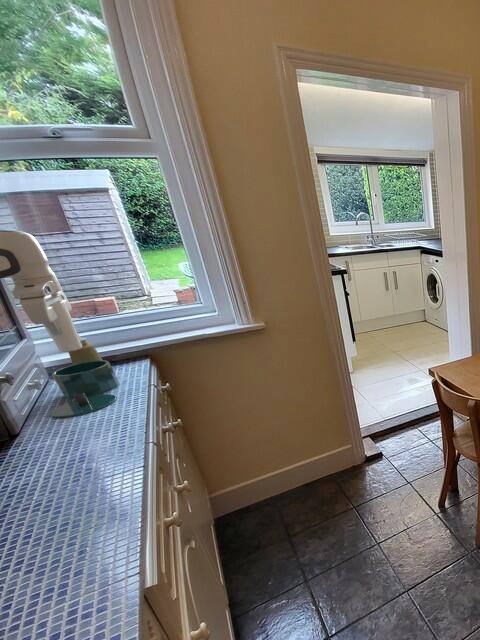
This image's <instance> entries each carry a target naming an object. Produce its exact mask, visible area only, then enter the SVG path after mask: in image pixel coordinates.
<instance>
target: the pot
mask: <svg viewBox="0 0 480 640" xmlns="http://www.w3.org/2000/svg"><path fill="white" fill-rule="evenodd" d="M51 375H52V377H53V379H54V381H55V383H56V385H57V387H58V388H59V390H60V392H61V394H62V395H63V397H64V399H67V400H75V398H74V396H73V395H75V394H78V393H85V395H86V397H90V396H96V395H102V394H104V393H106V392H109V391H112V390H113V389H115V388H118V386H119V385H120V382H119V379H118V377H117V375H116V373H115V371H114V369H113V367H112V365H111V363H110V361H108V360H105V359H104V360H103V359H102V360H99V361H90V362H83V363H79V364H75V365H73V364H71V365H68V366H64V367H61V368H59V369H56V370H54V371H53V372H52V373H51Z"/></svg>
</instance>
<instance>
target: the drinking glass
mask: <svg viewBox="0 0 480 640" xmlns="http://www.w3.org/2000/svg"><path fill="white" fill-rule="evenodd" d="M58 302H59V303H54V304H51V305H53V307H54V308H55V310H56V312H57V314H58V316H59V318H58V319H56V320H55V322H56V325H57V326H58V328H60V329H61V331H62V334H60V335H55V336H54V335H52V333H51V331H50V330H49V329H48V328H47V327H46V326H45V324H42V325H43V327H44V329H45V330H46V332H47V333H48V334H49V336H50V338H51V339H52V341H53V342H54V344H55V345H56V347H57V349H58V351H59V352H61V353H69V352H70V351H75V350H78V349H81V348H82V344H81V342H80V339H79V337H78V335H79V334H78V332H77V329H76V326H75V323H74V320H73V318H72V315H71V313H70V312H69V311H68V309H67V307H66V305H65V303H64V301H58Z"/></svg>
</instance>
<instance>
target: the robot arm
mask: <svg viewBox="0 0 480 640" xmlns="http://www.w3.org/2000/svg"><path fill="white" fill-rule="evenodd" d="M8 277H10V279H11V280H12V282H13V285H14V288H13V289H12V292H11V294H12V296H13V297H14V299H16V300H19V304H20V306H21V308H22V310H23V311H24V313H25V314H26V316H27V318H28V319H29V321H30V322H32V324H34V325H43V324H45V326H46V327H47V328H48V329H49V330H50V331H51V333H52V335H54V336H55V335H60V334H62V331H61V329H60V328H58V326H57V325H56V322H55V320H56V319H58V318H59V316H58V314H57V312H56V310H55V308H54V307H53V305H51V304H54V303H59V302H58V301H64V303H65V305H66V307H67V309H68V311H69V313H70V312H72V311H73V306H72V305H71V303H70V301H69V299H68V297H67V296H66V293H65V292H64V291H63V288H62V285H61V284H60V281H59V279H58V278H57V275H56V273H55V272H54V271H53V270H52V268H51V267H50V265H49V259H48V257H47V255H46V253H45V251H44V250H43V248H42V246H41V245H40V243H39V241H38V240H37V239H36V238H35V236H33V235H32V234H30V233H28V232H25V231H20V230H12V229H11V230H10V229H0V280H1V279H5V278H8Z"/></svg>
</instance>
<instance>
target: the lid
mask: <svg viewBox="0 0 480 640" xmlns="http://www.w3.org/2000/svg"><path fill="white" fill-rule="evenodd" d="M73 396H74V398H75V399H74V400H72V401H69V402H67V403H64V404H62V405H60V406H58V407H55V408H54V409H53V410H51V412H50V416H51V417H52V418H55V419H66V418H72V417H77V416H83V415H86V414H90V413H93V412H97V411H99V410H102V409H104V408H106V407H109V406H110V405H112V404H113V403H114V402H116V401H117V397H116V395H114V394H109V393H108V394H104V393H103V394H98V395H94V396H90V397H86V395H85V393H78V394H75V395H73Z"/></svg>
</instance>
